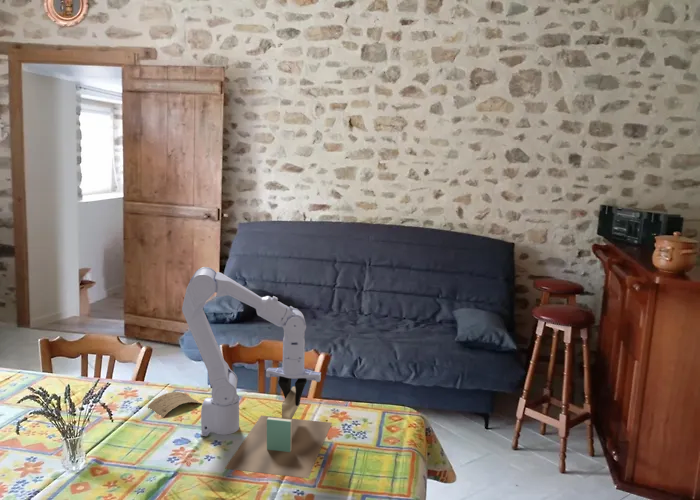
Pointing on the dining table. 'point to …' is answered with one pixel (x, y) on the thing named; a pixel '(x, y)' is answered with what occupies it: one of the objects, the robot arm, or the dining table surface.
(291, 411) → the beige long rectangular bar
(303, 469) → the board
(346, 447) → the dining table surface
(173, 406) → the brown curved sheet
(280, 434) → the tile
